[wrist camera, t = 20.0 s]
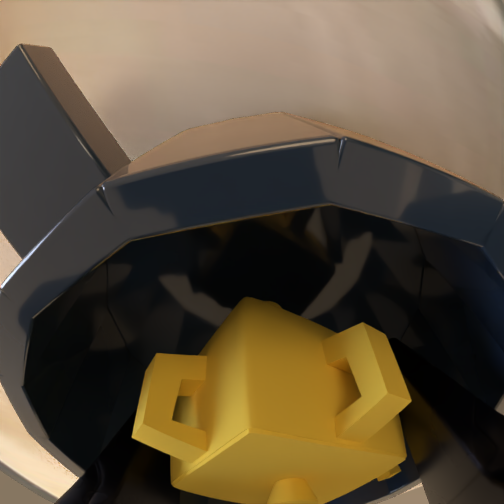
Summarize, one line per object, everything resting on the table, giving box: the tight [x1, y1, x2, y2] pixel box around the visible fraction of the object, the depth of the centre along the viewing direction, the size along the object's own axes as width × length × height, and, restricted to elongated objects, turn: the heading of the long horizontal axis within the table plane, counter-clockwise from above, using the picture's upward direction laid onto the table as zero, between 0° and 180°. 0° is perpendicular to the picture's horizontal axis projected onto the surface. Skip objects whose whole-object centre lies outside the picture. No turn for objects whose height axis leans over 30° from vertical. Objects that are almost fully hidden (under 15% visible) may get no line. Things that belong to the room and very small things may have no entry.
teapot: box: [132, 297, 412, 504], centre depth 7 cm, size 8×6×5 cm
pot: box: [0, 44, 504, 504], centre depth 9 cm, size 14×19×6 cm
